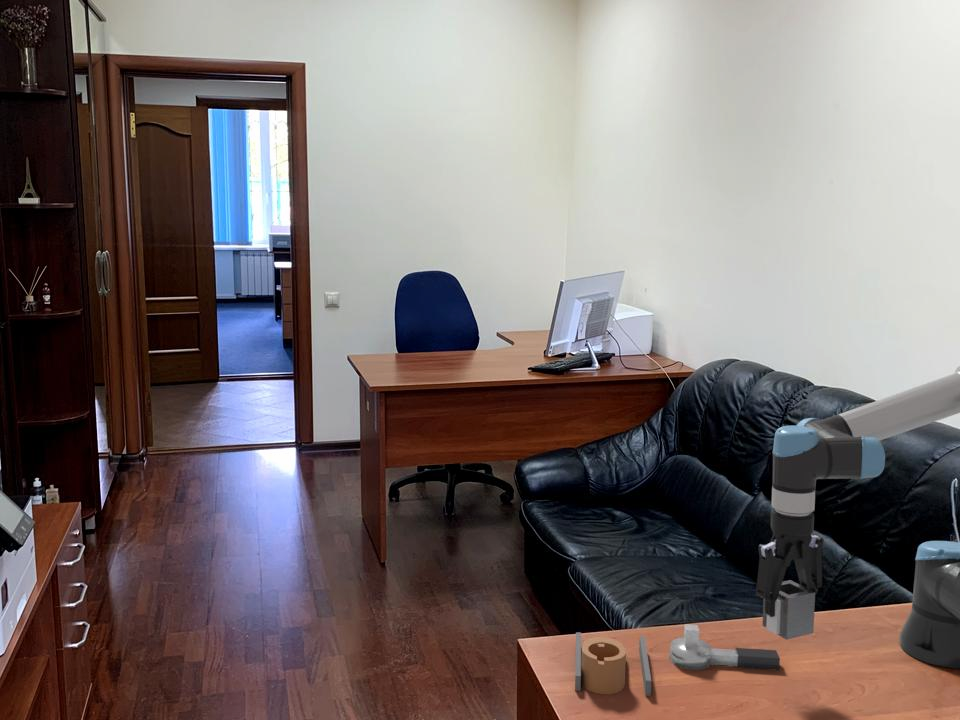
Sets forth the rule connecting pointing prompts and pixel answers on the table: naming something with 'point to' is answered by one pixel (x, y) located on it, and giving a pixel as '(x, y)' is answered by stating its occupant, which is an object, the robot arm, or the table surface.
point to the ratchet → (717, 654)
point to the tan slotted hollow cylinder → (603, 665)
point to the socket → (794, 610)
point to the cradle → (642, 658)
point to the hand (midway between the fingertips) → (787, 627)
